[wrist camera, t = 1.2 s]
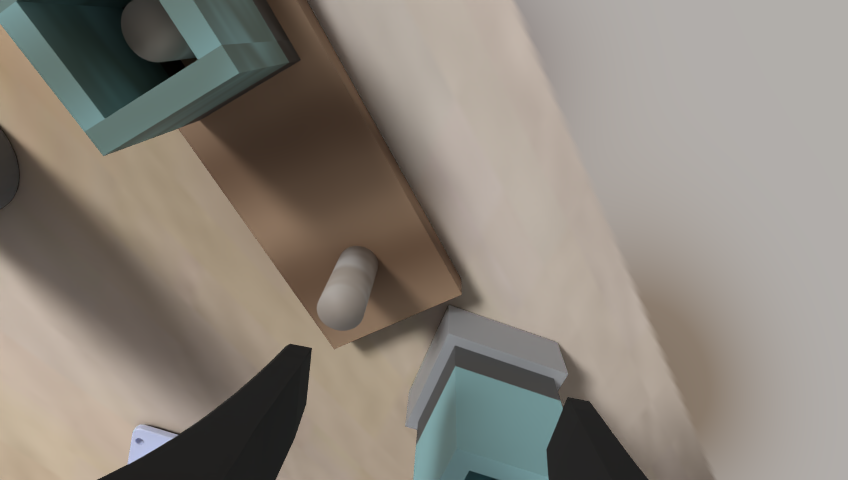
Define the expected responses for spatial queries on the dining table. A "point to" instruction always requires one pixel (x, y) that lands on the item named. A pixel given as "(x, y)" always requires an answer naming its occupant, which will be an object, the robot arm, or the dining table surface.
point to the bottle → (7, 171)
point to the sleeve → (486, 422)
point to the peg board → (253, 138)
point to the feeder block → (486, 341)
